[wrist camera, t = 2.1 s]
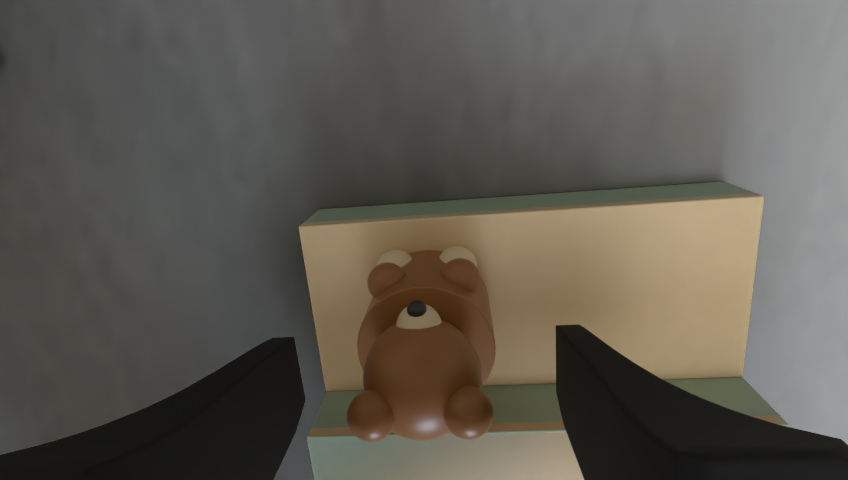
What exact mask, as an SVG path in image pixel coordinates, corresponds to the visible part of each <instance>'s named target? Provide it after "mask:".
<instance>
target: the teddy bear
mask: <svg viewBox="0 0 848 480" xmlns="http://www.w3.org/2000/svg"><path fill="white" fill-rule="evenodd" d="M367 284H368V289H369V291H370V293H371V295H372V296H373V297H372V300H371V302H370V304H369V307H368V309H367V312H366V314H365V317H364V319H363V322H362V324H361V327H360V329H359V334H358V341H357V349H358V356H359V361H360V363H361V366H362V369H363V388H364V391H362V392H360V393H359V394H357V395H356V396H355V397H354V398H353V400H352V401H351V403H350V405H349V407H348V411H347V422H348V426H349V428H350V430H351V432H352V433H353V434H354V435H355V436H356V437H357V438H359V439H360V440H363V441H366V442H376V441H380V440H382V439H384V438H385V437H387V436H388V435H389V434H390V433H391V432H393V433H395V434H397V435H399V436H401V437H404V438H407V439H411V440H418V441H427V440H434V439H438V438H441V437H444V436H446V435H448V434H450V433H453V434H454V435H455V436H457V437H459V438H462V439H466V440H471V439H476V438H479V437H481V436H482V435H484V434H485V433H486V432H487V431H488V430H489V428H490V426H491V424H492V422H493V417H494V410H493V405H492V403H491V400H490V399H489V397H488V396H487V395H486V393H485V392H483V391H482V390H481V388H482V385H483V384H484V383H485V381H486V380H487V378H488V377H489V375H490V373H491V371H492V368H493V365H494V361H495V355H496V345H495V337H494V330H493V324H492V317H491V310H490V303H489V296H488V292H487V288H486V286H485V284H484V281H483V280H482V278H481V276H480V273H479V270H478V268H477V261H476V258H475V256H474V255H473V253H472V252H471V251H470V250H468V249H467V248H465V247H462V246H452V247H449V248H447V249H446V250H444V251H435V250H426V251H418V252H414V253H411V254H408V253H407V252H405V251H402V250H391V251H388V252H386V253H385V254H383V255H382V256H381V258H380V259H379V261H378V263H377V266H375V267H374V268H373V269H372V270H371V272H370V274H369V276H368V280H367Z"/></svg>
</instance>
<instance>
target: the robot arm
mask: <svg viewBox="0 0 848 480" xmlns="http://www.w3.org/2000/svg"><path fill="white" fill-rule="evenodd" d="M556 394H557V398H558V402H559V407H560V411H561V415H562V420H563V424H564V427H565V430H566V432H567V435H568V438H569V440H570V443H571V446H572V448H573V451H574V454H575V456H576V459H577V462H578V464H579V467H580V469H581V472H582V475H583V477H584V480H848V445H847V444H846V443H845V442H844V441H842V440H841V439H837V438H833V437H828V436H824V435H820V434H816V433H811V432H807V431H803V430H798V429H794V428H790V427H786V426H782V425H778V424H775V423H772V422H768V421H765V420H762V419H758V418H755V417H752V416H749V415H746V414H743V413H740V412H737V411H734V410H731V409H728V408H726V407H723V406H721V405H718V404H715V403H713V402H710V401H708V400H705V399H703V398H700V397H698V396H696V395H694V394H691V393H689V392H687V391H685V390H683V389H681V388H679V387H677V386H675V385H673V384H671V383H669V382H667V381H665V380H663V379H661V378H659V377H657V376H656V375H654V374H652V373H650V372H649V371H647V370H645V369H644V368H642V367H640V366H639V365H637V364H635V363H634V362H632V361H631V360H629V359H628V358H626V357H625V356H623V355H622V354H620V353H619V352H617V351H616V350H614V349H613V348H612V347H610V346H609V345H607V344H606V343H605V342H603V341H602V340H601V339H599V338H598V337H596V336H595V335H594V334H592V333H591V332H590V331H588V330H587V329H586V328H584V327H583V326H581V325H579V324H575V325H556ZM304 403H305V395H304V390H303V385H302V379H301V374H300V368H299V363H298V357H297V352H296V347H295V341H294V337H284V338H272V339H269V340H267V341H265V342H263V343H262V344H260V345H258V346H256V347H255V348H253V349H251V350H250V351H248V352H246V353H245V354H243V355H241V356H240V357H238V358H237V359H235V360H233V361H232V362H230V363H228V364H227V365H225V366H224V367H222V368H220V369H219V370H217V371H215V372H214V373H212V374H210V375H208V376H207V377H205V378H203V379H201V380H199V381H198V382H196V383H194V384H192V385H191V386H189V387H187V388H185V389H184V390H182V391H180V392H178V393H176V394H174V395H172V396H170V397H168V398H166V399H164V400H162V401H160V402H157V403H155V404H153V405H151V406H149V407H147V408H144V409H142V410H140V411H137V412H135V413H132V414H130V415H127V416H125V417H122V418H120V419H117V420H115V421H112V422H110V423H107V424H104V425H102V426H99V427H96V428H93V429H90V430H87V431H85V432H82V433H79V434H76V435H72V436H69V437H66V438H63V439H59V440H56V441H53V442H49V443H46V444H42V445H39V446H35V447H31V448H27V449H23V450H19V451H15V452H11V453H7V454H3V455H0V480H273V479H274V477H275V475H276V473H277V470H278V468H279V466H280V464H281V462H282V460H283V458H284V456H285V454H286V452H287V449H288V447H289V445H290V443H291V441H292V439H293V436H294V434H295V432H296V429H297V426H298V423H299V420H300V417H301V413H302V410H303V406H304Z"/></svg>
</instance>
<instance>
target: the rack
mask: <svg viewBox="0 0 848 480" xmlns="http://www.w3.org/2000/svg"><path fill="white" fill-rule="evenodd" d="M763 204H764V196H763V195H760V194H757V193H754V192H751V191H748V190H745V189H742V188H740V187H737V186H734V185H731V184H728V183H725V182H709V183H694V184H680V185H665V186H651V187H637V188H622V189H608V190H593V191H579V192H564V193H550V194H535V195H521V196H506V197H492V198H477V199H463V200H448V201H434V202H420V203H405V204H391V205H376V206H362V207H347V208H333V209H319V210H318V211H316V212H315V213H314V214H313V215H312V216H311V217H310V218H308V219H307V220H306V221H305V222H304V223H303V224H301V225H300V226H299V233H300V239H301V245H302V251H303V257H304V263H305V269H306V275H307V281H308V287H309V293H310V299H311V305H312V311H313V317H314V323H315V329H316V335H317V341H318V347H319V353H320V359H321V365H322V371H323V377H324V383H325V389H326V393H325V396H324V398H323V400H322V403H321V405H320V407H319V410H318V412H317V414H316V417H315V419H314V421H313V423H312V426H311V428H310V430H309V433H308V435H307V442H308V447H309V453H310V458H311V464H312V469H313V474H314V480H584V477H583V475H582V472H581V469H580V467H579V464H578V462H577V459H576V456H575V454H574V451H573V448H572V446H571V443H570V440H569V438H568V435H567V432H566V430H565V427H564V424H563V420H562V415H561V411H560V407H559V402H558V398H557V394H556V325H575V324H579V325H581V326H583V327H584V328H586V329H587V330H588V331H590V332H591V333H592V334H594V335H595V336H596V337H598V338H599V339H601V340H602V341H603V342H605V343H606V344H607V345H609V346H610V347H612V348H613V349H614V350H616V351H617V352H619V353H620V354H622V355H623V356H625V357H626V358H628V359H629V360H631V361H632V362H634V363H635V364H637V365H639V366H640V367H642V368H644V369H645V370H647V371H649V372H650V373H652V374H654V375H656V376H657V377H659V378H661V379H663V380H665V381H667V382H669V383H671V384H673V385H675V386H677V387H679V388H681V389H683V390H685V391H687V392H689V393H691V394H694V395H696V396H698V397H700V398H703V399H705V400H708V401H710V402H713V403H715V404H718V405H721V406H723V407H726V408H728V409H731V410H734V411H737V412H740V413H743V414H746V415H749V416H752V417H755V418H758V419H762V420H765V421H768V422H772V423H775V424H778V425H782V426H786V427H788V423H787V422H786V421H785V420H784V419H783V418H782V417H781V416H780V415H779V414H778V413H777V412H776V411H775V410H774V409H773V408H772V407H771V406H770V405H769V404H768V403H767V402H766V401H765V400H764V399H763V398H762V397H761V396H760V395H759V394H758V393H757V392H756V391H755V390H754V389H753V388H752V387H751V386H750V385H749V384H748V383H747V382H746V381H745V380H744V379H743V378H742V376H743V368H744V359H745V351H746V343H747V335H748V327H749V318H750V310H751V302H752V294H753V286H754V277H755V269H756V261H757V253H758V245H759V236H760V228H761V220H762V212H763ZM452 246H462V247H465V248H467V249H468V250H470V251H471V252H472V253H473V255H474V256H475V258H476V261H477V268H478V270H479V273H480V276H481V278H482V280H483V281H484V284H485V286H486V288H487V292H488V296H489V303H490V310H491V317H492V324H493V330H494V337H495V345H496V355H495V361H494V365H493V368H492V371H491V373H490V375H489V377H488V378H487V380H486V381H485V383H484V384H483V385H482V388H481V390H482V391H483V392H485V393H486V395H487V396H488V397H489V399H490V400H491V403H492V405H493V410H494V417H493V422H492V424H491V426H490V428H489V430H488V431H487V432H486V433H485V434H484V435H482V436H481V437H479V438H476V439H471V440H466V439H462V438H459V437H457V436H455V435H454V434H453V433H450V434H448V435H446V436H444V437H441V438H438V439H434V440H427V441H418V440H411V439H407V438H404V437H401V436H399V435H397V434H395V433H393V432H391V433H390V434H389V435H388V436H387V437H385V438H384V439H382V440H380V441H376V442H366V441H363V440H360V439H359V438H357V437H356V436H355V435H354V434H353V433H352V432H351V430H350V428H349V426H348V422H347V411H348V407H349V405H350V403H351V401H352V400H353V398H354V397H355V396H356V395H357V394H359V393H360V392H362V391H364V388H363V369H362V366H361V363H360V361H359V356H358V349H357V341H358V334H359V329H360V327H361V324H362V322H363V319H364V317H365V314H366V312H367V309H368V307H369V304H370V302H371V300H372V297H373V296H372V295H371V293H370V291H369V289H368V284H367V280H368V276H369V274H370V272H371V270H372V269H373V268H374V267H375V266H377V263H378V261H379V259H380V258H381V256H382V255H383V254H385V253H386V252H388V251H391V250H402V251H405V252H407V253H408V254H411V253H414V252H418V251H426V250H435V251H444V250H446V249H447V248H449V247H452Z"/></svg>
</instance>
